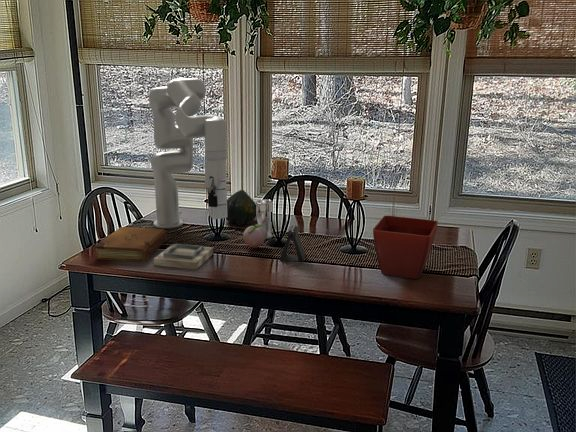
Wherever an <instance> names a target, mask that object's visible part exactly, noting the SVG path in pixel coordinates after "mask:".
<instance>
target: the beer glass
mask: <svg viewBox="0 0 576 432" xmlns="http://www.w3.org/2000/svg"><path fill="white" fill-rule="evenodd" d="M255 204H256V217H255V219H256V223H257V224H260V225H262V226H261V227H262V228H263V229H264V230H265V232H266V237H265V240H270V239H272V238H273V235H272V224H273V223H272V222H273V221H272V222H271V212H272V220H273V217H274V206H273V205H274V203H273V200H271V199H266V198H265V199H263V198H262V199H257V200H256V201H255Z"/></svg>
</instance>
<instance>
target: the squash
mask: <svg viewBox="0 0 576 432" xmlns="http://www.w3.org/2000/svg"><path fill="white" fill-rule="evenodd" d="M255 219H256V201H255V200H253V199H252V197H251V196H250V195H249V194H248V192H246V190H244V189H241V190H237V191H236V192H234V193H233V194H231V195H230V196H229V197H227V218H225V220H226V221H228V222H229V223H236V224H237V225H238V226H240V227H241V226H243V225H248V224H250V223H251V222H253V221H254V220H255Z"/></svg>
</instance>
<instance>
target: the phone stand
mask: <svg viewBox="0 0 576 432" xmlns="http://www.w3.org/2000/svg"><path fill="white" fill-rule="evenodd" d="M292 229H293V230H292ZM286 234H287V239H286V242H285V244H284V246H283V249H282V252H281V255H280V257H279V259H278V260H279V262H287V263H288V262H290V263H291V262H292V263H304V262H305V259H306V256H307V255H306V253H305V249H304V247H303V244H302V241H301V239H300V236H299V235H300V234H299V227H298V225H291V226H290V228H289V229H288V231H287V233H286ZM291 241H293V244H294V248H295V252H296V255H295V254H288V251H289V248H290V245H291Z"/></svg>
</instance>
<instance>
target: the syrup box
mask: <svg viewBox="0 0 576 432" xmlns="http://www.w3.org/2000/svg"><path fill="white" fill-rule="evenodd" d="M212 187H216V186H215V185H214V182H213V184H212ZM212 190H213V191H214V190H215V189H212ZM227 191H228V190H227V178H224V177H223V178H221V185H220V187H219V188H218V189H217V194H216V196H217V203H218V206H217V207H209V206H208V205H207V207H208V209H207V210H208V211H207V212H208V216H209V217H210V218H211V219H212V220H220V219H226V218H227V199H228V196H227V195H228V194H227V193H228V192H227Z"/></svg>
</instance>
